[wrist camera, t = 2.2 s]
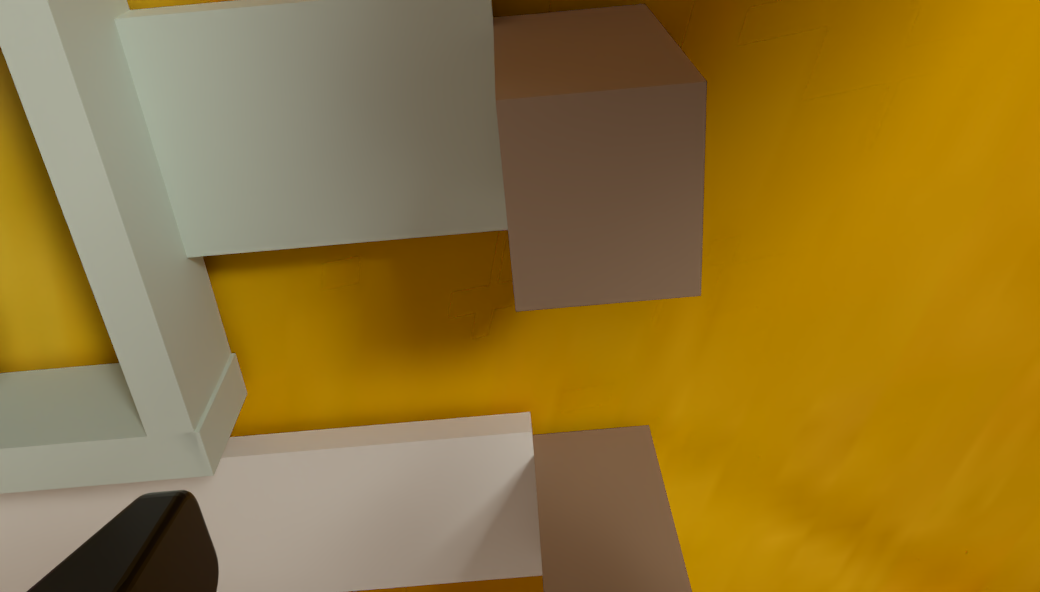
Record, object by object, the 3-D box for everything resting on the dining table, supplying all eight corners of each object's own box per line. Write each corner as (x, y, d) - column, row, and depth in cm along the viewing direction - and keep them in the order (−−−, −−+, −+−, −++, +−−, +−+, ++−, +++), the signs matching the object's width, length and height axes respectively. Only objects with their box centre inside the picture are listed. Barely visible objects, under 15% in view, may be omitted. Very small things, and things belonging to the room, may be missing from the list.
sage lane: (647, 359, 21) (694, 520, 16) (-324, 442, 21) (-558, 625, 17) (642, -301, 14) (718, -352, 10) (-766, -169, 15) (-1368, -156, 10)
